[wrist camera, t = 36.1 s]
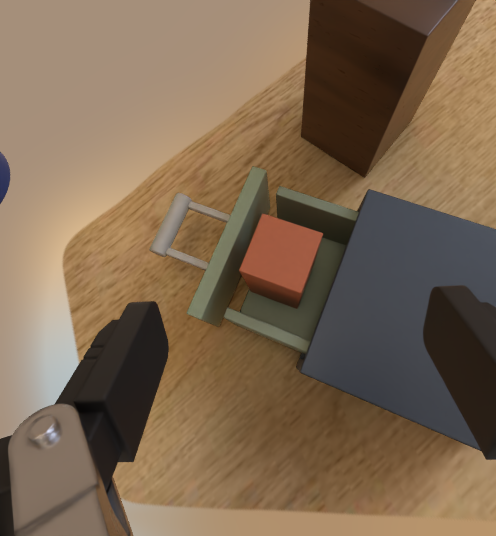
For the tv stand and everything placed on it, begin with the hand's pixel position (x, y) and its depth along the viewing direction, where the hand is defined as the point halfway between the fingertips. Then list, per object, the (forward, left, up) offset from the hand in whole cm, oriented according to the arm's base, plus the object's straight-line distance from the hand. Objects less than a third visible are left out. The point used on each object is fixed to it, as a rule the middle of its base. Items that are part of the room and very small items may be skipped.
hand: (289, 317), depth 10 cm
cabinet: (+8, -7, -22) cm, 24 cm away
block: (+4, +4, -20) cm, 21 cm away
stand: (+22, +8, -22) cm, 32 cm away
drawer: (+4, +5, -21) cm, 22 cm away
